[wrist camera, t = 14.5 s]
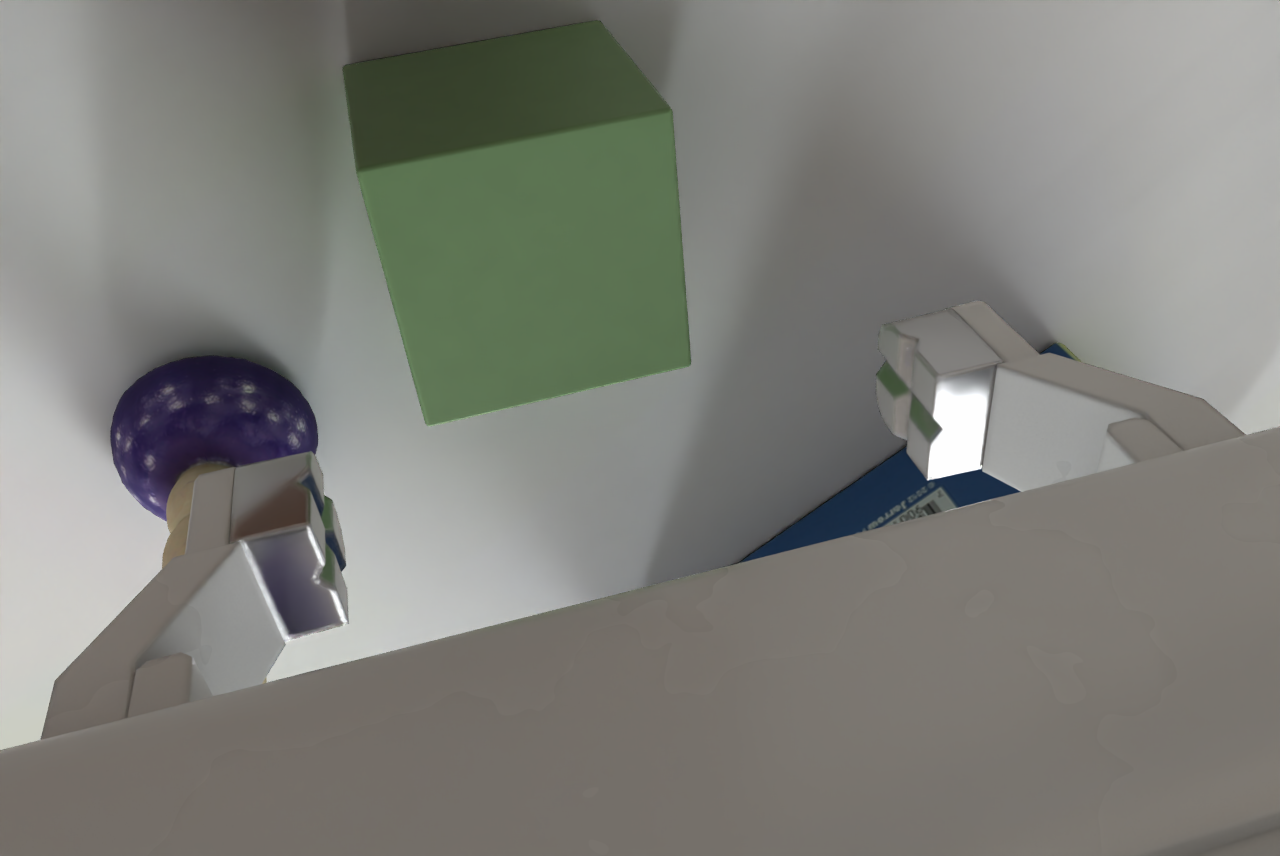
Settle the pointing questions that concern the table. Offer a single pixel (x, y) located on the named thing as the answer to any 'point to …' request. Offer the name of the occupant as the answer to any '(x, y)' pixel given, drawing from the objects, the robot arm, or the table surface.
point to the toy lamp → (203, 431)
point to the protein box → (891, 498)
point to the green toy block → (522, 216)
